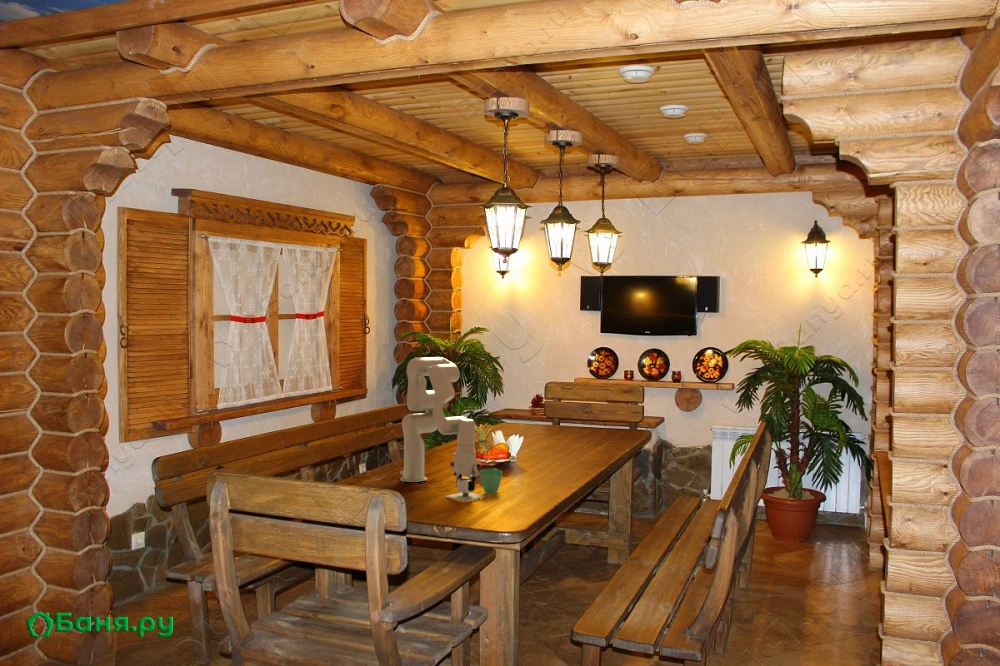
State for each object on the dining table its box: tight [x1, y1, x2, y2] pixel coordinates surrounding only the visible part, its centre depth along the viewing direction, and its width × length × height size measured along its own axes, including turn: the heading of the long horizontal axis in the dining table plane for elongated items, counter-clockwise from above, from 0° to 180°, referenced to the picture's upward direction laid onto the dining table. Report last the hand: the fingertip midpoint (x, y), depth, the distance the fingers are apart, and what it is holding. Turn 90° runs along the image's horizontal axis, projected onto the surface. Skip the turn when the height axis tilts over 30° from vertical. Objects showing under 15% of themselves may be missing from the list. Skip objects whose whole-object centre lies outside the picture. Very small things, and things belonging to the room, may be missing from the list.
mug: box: [479, 468, 503, 495], centre depth 365 cm, size 15×10×10 cm
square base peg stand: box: [445, 492, 486, 502], centre depth 354 cm, size 12×12×7 cm
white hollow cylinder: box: [456, 477, 475, 493], centre depth 354 cm, size 7×7×5 cm
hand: (465, 488), depth 354 cm, fingers closed on white hollow cylinder, 6 cm apart
